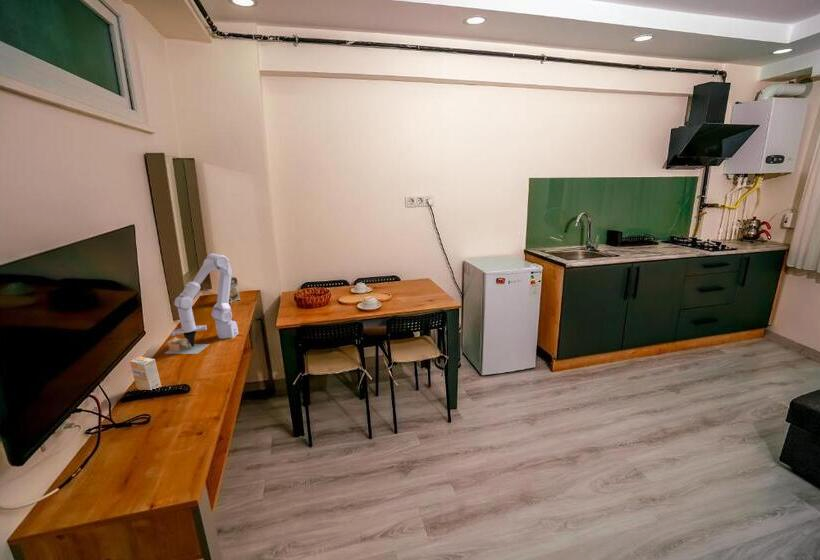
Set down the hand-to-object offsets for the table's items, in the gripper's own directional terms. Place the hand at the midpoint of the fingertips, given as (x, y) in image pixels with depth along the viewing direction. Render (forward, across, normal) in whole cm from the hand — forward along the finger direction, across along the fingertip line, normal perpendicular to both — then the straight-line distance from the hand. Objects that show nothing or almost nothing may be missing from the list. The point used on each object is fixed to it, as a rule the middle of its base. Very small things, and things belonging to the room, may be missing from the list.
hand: (192, 345), depth 183 cm
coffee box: (+2, -16, -68) cm, 70 cm away
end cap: (+1, +7, -4) cm, 8 cm away
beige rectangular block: (+1, +5, -3) cm, 6 cm away
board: (+2, +2, 0) cm, 3 cm away
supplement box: (+2, +13, +32) cm, 34 cm away
